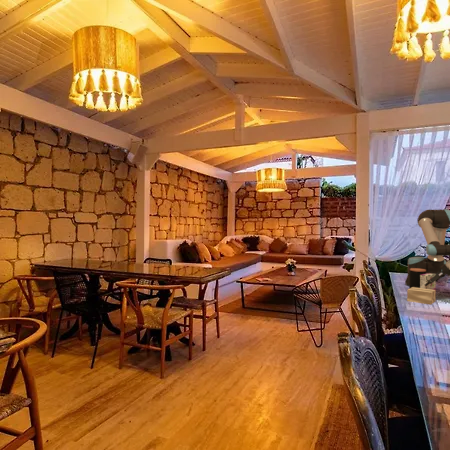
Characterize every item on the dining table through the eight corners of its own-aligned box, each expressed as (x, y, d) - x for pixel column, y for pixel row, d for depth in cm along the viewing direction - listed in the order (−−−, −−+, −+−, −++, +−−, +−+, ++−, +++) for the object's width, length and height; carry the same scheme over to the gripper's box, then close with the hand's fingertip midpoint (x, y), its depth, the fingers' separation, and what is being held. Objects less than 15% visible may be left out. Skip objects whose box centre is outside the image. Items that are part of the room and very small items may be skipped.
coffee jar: (428, 295, 252) (428, 270, 252) (411, 294, 254) (412, 270, 254) (422, 292, 263) (423, 268, 262) (407, 291, 265) (407, 268, 264)
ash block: (412, 298, 244) (412, 287, 244) (435, 301, 235) (435, 289, 235) (407, 301, 236) (407, 289, 235) (430, 305, 226) (430, 292, 226)
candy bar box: (428, 296, 251) (429, 273, 250) (436, 297, 246) (436, 274, 246) (419, 297, 245) (419, 274, 245) (426, 299, 241) (426, 275, 241)
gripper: (450, 274, 226) (423, 294, 237) (458, 270, 244) (433, 288, 254) (440, 265, 229) (415, 285, 240) (449, 261, 247) (425, 280, 258)
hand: (424, 286), depth 247 cm, fingers open, 12 cm apart
